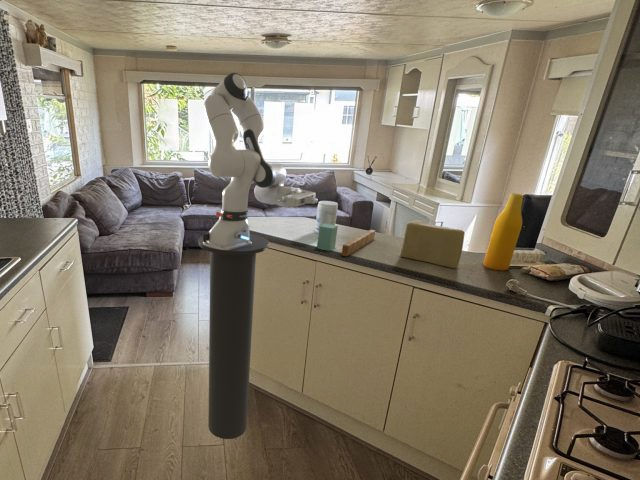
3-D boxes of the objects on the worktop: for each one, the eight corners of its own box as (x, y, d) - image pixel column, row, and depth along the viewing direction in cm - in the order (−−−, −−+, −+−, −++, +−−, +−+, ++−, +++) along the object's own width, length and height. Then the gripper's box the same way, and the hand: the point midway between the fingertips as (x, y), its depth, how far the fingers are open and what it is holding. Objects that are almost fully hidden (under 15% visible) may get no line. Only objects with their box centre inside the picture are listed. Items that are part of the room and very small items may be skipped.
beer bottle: (509, 272, 168) (532, 197, 156) (482, 268, 171) (503, 194, 160) (507, 265, 175) (530, 194, 163) (482, 261, 179) (502, 191, 167)
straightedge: (346, 256, 179) (348, 246, 177) (341, 255, 180) (342, 244, 178) (373, 239, 204) (375, 230, 203) (368, 238, 206) (370, 229, 204)
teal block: (329, 251, 184) (332, 228, 180) (316, 248, 188) (319, 225, 183) (334, 248, 189) (337, 225, 185) (322, 245, 192) (325, 223, 188)
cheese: (461, 266, 173) (471, 229, 166) (452, 271, 166) (461, 233, 160) (409, 252, 187) (416, 218, 181) (399, 256, 181) (405, 221, 175)
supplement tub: (311, 230, 217) (315, 200, 211) (329, 229, 219) (332, 200, 213) (319, 235, 208) (323, 204, 202) (337, 234, 210) (341, 204, 204)
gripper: (276, 192, 182) (306, 197, 175) (298, 187, 198) (326, 190, 191) (275, 207, 185) (304, 212, 178) (297, 200, 200) (324, 205, 193)
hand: (316, 201), depth 184 cm, fingers closed
